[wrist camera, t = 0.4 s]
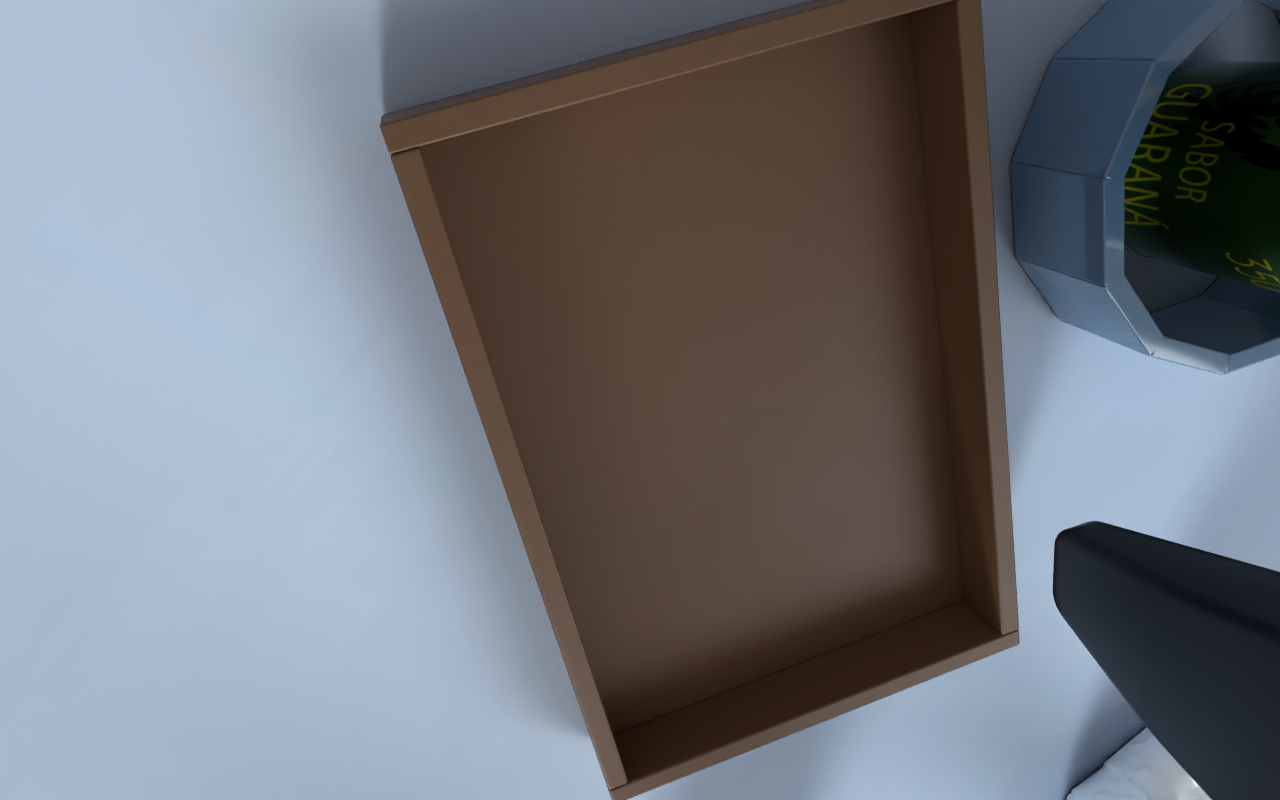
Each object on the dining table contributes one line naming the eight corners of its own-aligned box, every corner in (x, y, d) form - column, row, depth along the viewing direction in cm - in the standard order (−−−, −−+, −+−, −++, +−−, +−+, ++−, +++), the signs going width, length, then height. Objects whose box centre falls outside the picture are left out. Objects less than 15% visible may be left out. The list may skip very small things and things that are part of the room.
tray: (970, 597, 29) (1020, 644, 27) (594, 741, 27) (613, 806, 25) (915, -27, 21) (979, -37, 19) (380, 114, 19) (378, 124, 17)
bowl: (1302, 277, 28) (1417, 306, 25) (1020, 375, 27) (1105, 418, 23) (1335, -78, 24) (1478, -97, 21) (1002, 15, 22) (1102, 9, 19)
